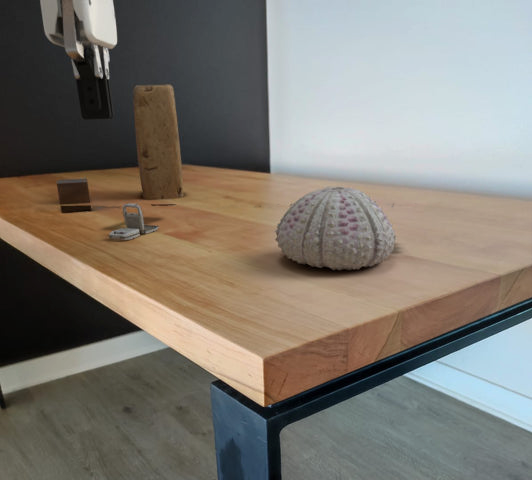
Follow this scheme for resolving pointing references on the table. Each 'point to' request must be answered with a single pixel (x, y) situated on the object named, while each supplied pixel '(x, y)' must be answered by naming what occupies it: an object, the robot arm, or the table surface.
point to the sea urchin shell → (336, 230)
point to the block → (157, 142)
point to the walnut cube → (73, 195)
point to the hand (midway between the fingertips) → (98, 118)
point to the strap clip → (132, 225)
